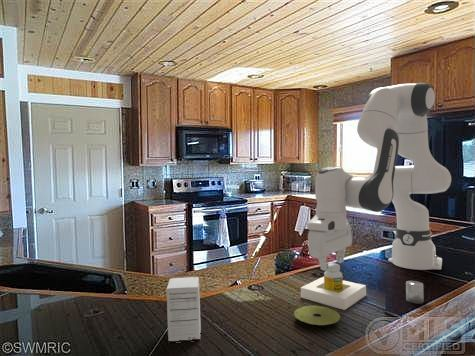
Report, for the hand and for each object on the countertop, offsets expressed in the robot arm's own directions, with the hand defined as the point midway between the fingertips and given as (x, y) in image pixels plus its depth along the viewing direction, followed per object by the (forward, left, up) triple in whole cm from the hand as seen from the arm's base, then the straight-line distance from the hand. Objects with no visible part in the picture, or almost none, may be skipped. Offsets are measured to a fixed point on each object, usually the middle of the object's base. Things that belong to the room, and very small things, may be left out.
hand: (332, 265), depth 99 cm
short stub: (-12, +19, -9) cm, 24 cm away
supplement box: (+44, -15, -9) cm, 48 cm away
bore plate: (0, 0, -9) cm, 9 cm away
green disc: (+18, +5, -9) cm, 21 cm away
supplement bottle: (+1, 0, -9) cm, 9 cm away
